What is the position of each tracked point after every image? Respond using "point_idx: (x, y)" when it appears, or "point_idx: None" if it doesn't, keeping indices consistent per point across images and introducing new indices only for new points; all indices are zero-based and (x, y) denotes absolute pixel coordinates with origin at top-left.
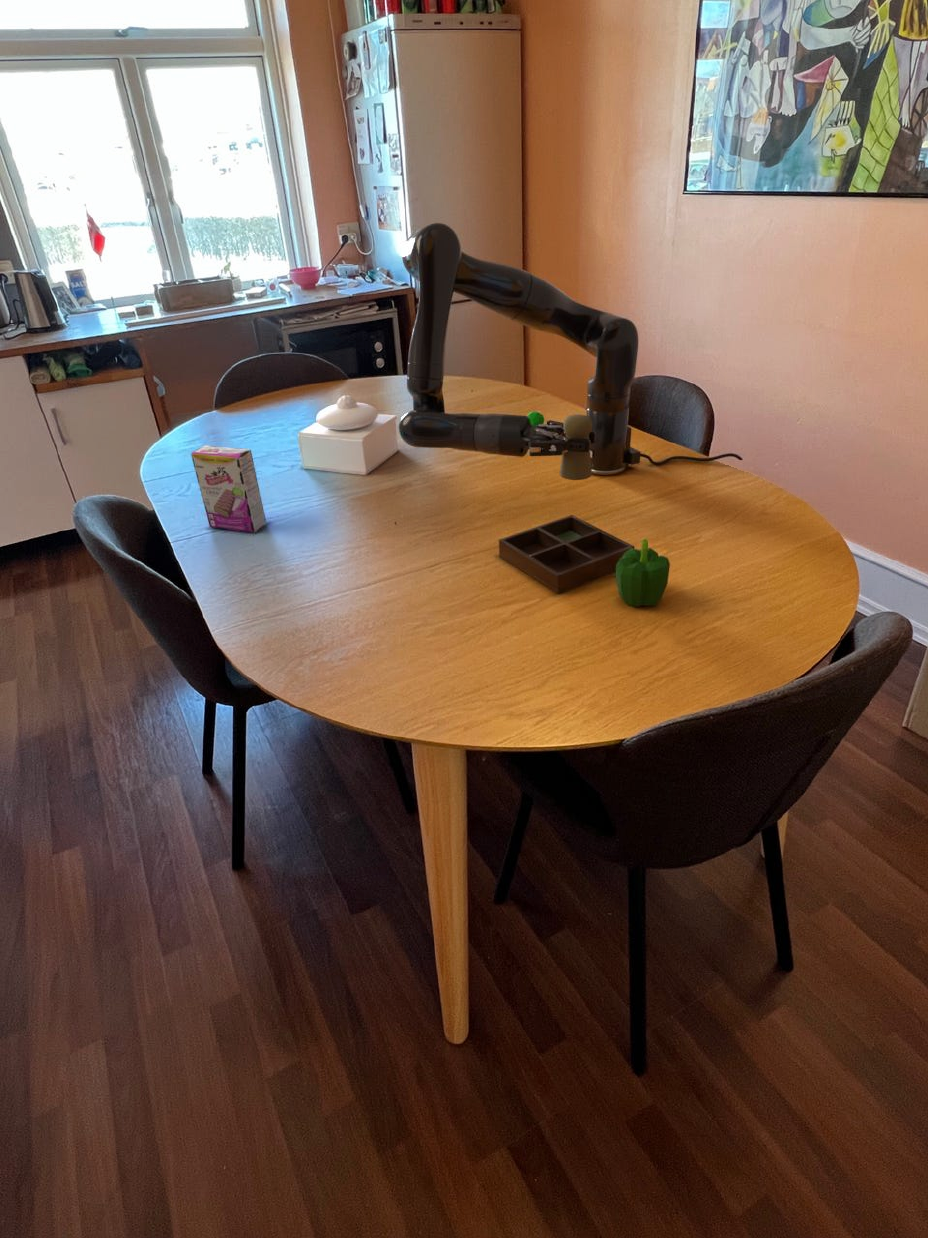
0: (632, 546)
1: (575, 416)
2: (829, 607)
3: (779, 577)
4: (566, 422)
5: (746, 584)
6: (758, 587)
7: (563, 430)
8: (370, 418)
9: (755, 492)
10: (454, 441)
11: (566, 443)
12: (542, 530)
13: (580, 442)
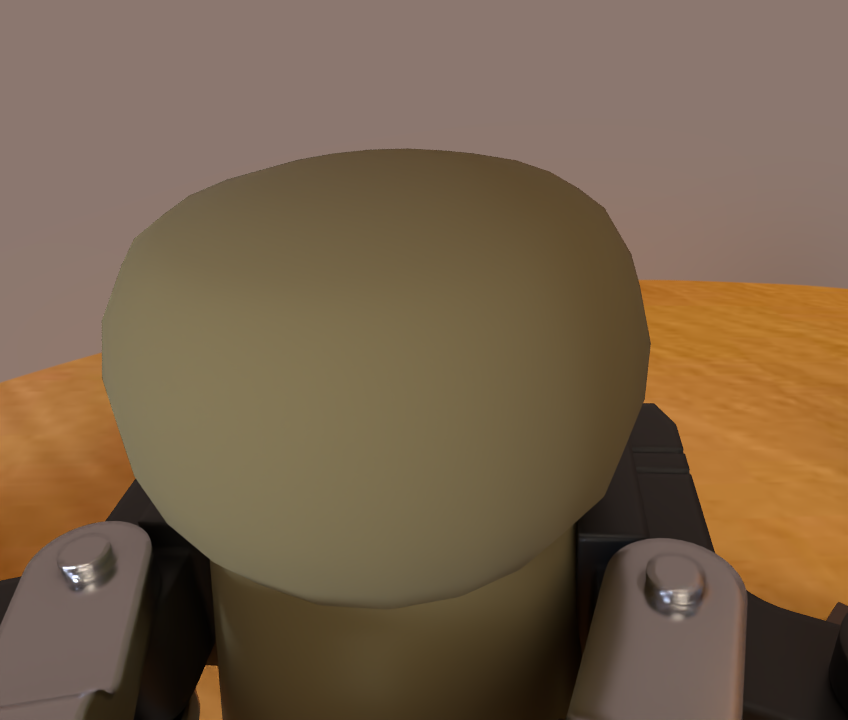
0: (845, 609)
1: (395, 186)
2: (774, 297)
3: (672, 347)
4: (553, 339)
5: (755, 391)
6: (757, 374)
7: (123, 706)
8: None
9: (100, 383)
10: None
11: (753, 608)
12: None
13: (649, 447)
